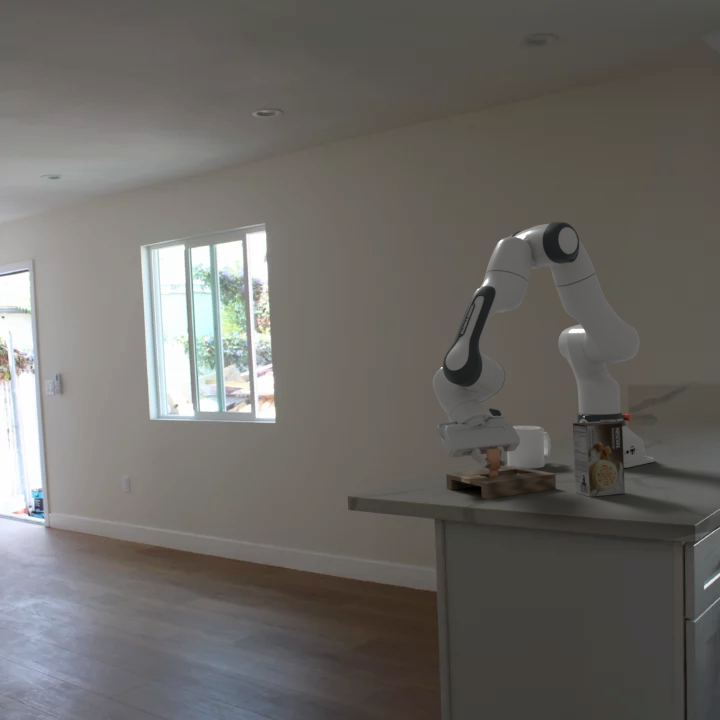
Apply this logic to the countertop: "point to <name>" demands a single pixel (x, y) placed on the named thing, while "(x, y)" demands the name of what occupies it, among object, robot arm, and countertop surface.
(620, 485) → the coffee box
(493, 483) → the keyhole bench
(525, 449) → the mug
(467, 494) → the countertop surface
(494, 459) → the peg
